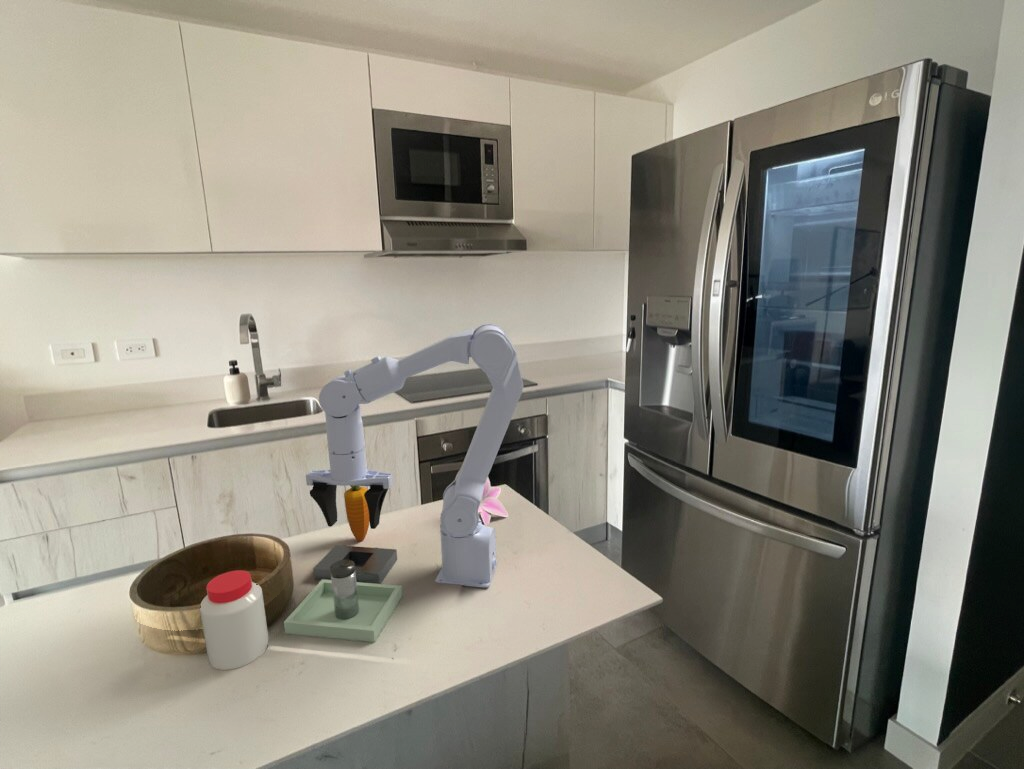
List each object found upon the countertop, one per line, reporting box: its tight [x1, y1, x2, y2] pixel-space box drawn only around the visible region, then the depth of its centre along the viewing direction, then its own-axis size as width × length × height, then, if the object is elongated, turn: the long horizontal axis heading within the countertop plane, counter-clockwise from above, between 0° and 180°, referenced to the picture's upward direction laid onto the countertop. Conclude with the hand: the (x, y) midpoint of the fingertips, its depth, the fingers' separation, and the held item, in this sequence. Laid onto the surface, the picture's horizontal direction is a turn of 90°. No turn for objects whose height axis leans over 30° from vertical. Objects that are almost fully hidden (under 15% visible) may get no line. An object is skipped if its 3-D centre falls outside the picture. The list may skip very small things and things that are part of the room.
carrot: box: [343, 486, 370, 543], centre depth 102 cm, size 5×5×15 cm
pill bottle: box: [199, 569, 270, 671], centre depth 74 cm, size 8×8×11 cm
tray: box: [283, 579, 403, 644], centre depth 81 cm, size 14×11×2 cm
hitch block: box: [312, 544, 398, 584], centre depth 93 cm, size 12×8×3 cm, turn 81°
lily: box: [478, 476, 509, 526], centre depth 113 cm, size 12×12×10 cm
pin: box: [330, 560, 359, 620], centre depth 81 cm, size 4×4×8 cm
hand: (353, 524), depth 89 cm, fingers open, 7 cm apart
